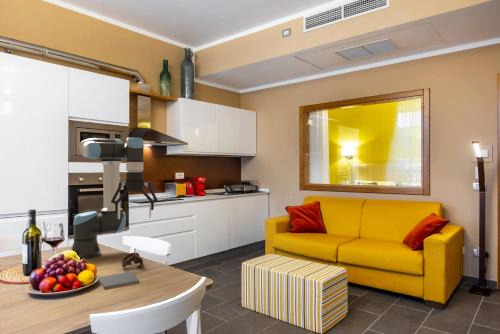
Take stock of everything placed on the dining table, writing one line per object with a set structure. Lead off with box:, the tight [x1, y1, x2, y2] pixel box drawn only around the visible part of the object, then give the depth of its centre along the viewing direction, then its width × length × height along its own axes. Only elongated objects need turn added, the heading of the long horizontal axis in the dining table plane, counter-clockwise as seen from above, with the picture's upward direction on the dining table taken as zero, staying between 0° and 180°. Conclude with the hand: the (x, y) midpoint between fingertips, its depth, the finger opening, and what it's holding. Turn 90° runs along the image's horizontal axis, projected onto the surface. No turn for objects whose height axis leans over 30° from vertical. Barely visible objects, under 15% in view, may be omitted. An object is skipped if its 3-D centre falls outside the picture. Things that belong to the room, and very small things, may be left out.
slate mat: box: [97, 271, 141, 290], centre depth 148 cm, size 14×14×1 cm
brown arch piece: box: [120, 252, 145, 269], centre depth 169 cm, size 12×10×8 cm
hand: (134, 218), depth 159 cm, fingers open, 13 cm apart
